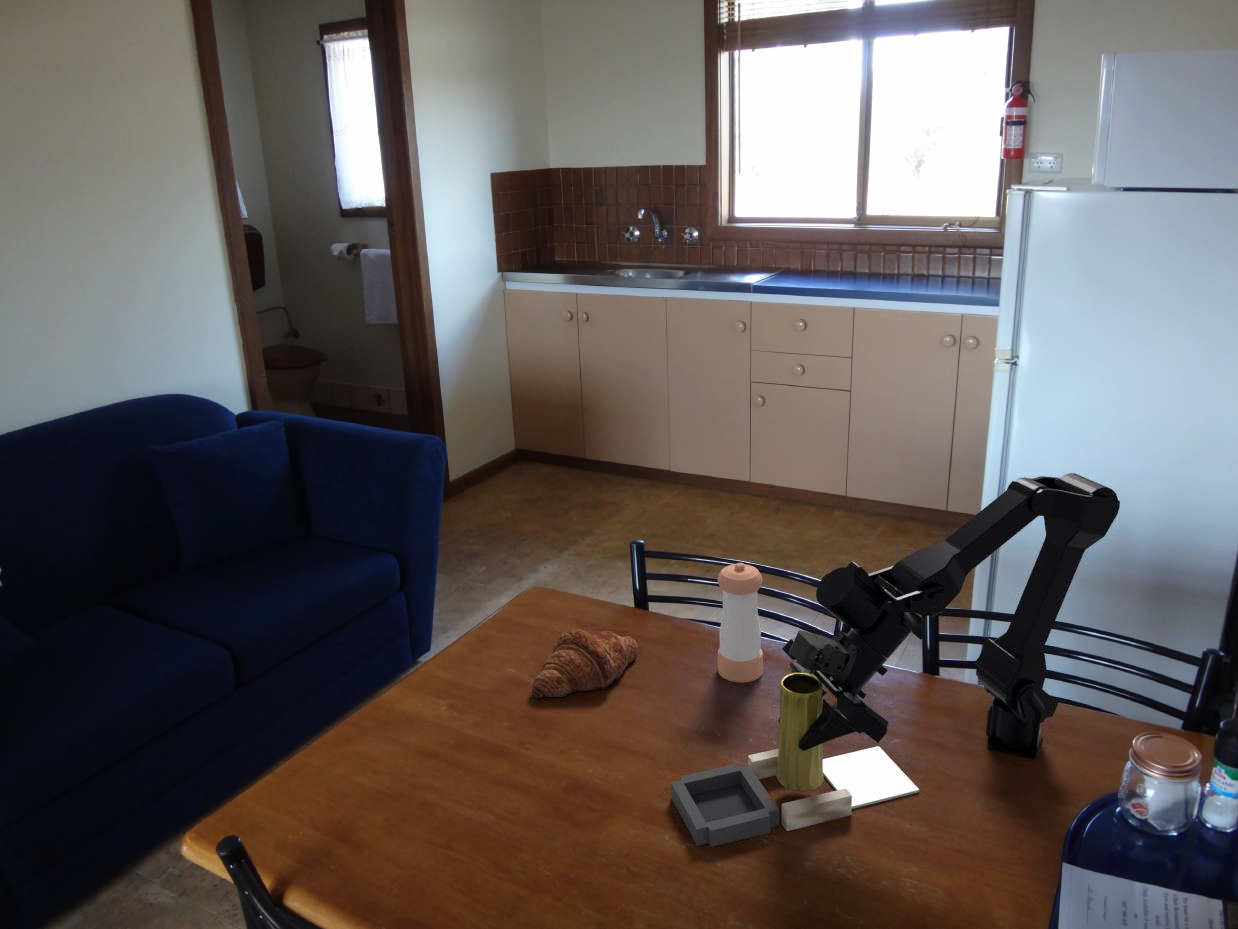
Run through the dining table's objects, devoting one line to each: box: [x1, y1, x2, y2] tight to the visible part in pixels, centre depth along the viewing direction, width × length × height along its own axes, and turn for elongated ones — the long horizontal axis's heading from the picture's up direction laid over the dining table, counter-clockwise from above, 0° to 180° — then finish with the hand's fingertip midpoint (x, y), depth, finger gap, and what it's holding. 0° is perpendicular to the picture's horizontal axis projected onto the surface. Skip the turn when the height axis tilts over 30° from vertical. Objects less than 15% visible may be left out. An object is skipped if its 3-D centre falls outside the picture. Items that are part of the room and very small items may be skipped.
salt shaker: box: [717, 562, 764, 683], centre depth 152 cm, size 7×7×19 cm
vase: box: [775, 672, 825, 793], centre depth 122 cm, size 6×6×14 cm
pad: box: [823, 746, 920, 810], centre depth 128 cm, size 10×10×1 cm
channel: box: [747, 748, 853, 832], centre depth 125 cm, size 9×12×3 cm
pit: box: [670, 763, 780, 848], centre depth 122 cm, size 11×11×2 cm
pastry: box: [531, 628, 639, 699], centre depth 155 cm, size 17×15×8 cm
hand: (790, 736), depth 122 cm, fingers closed on vase, 5 cm apart
